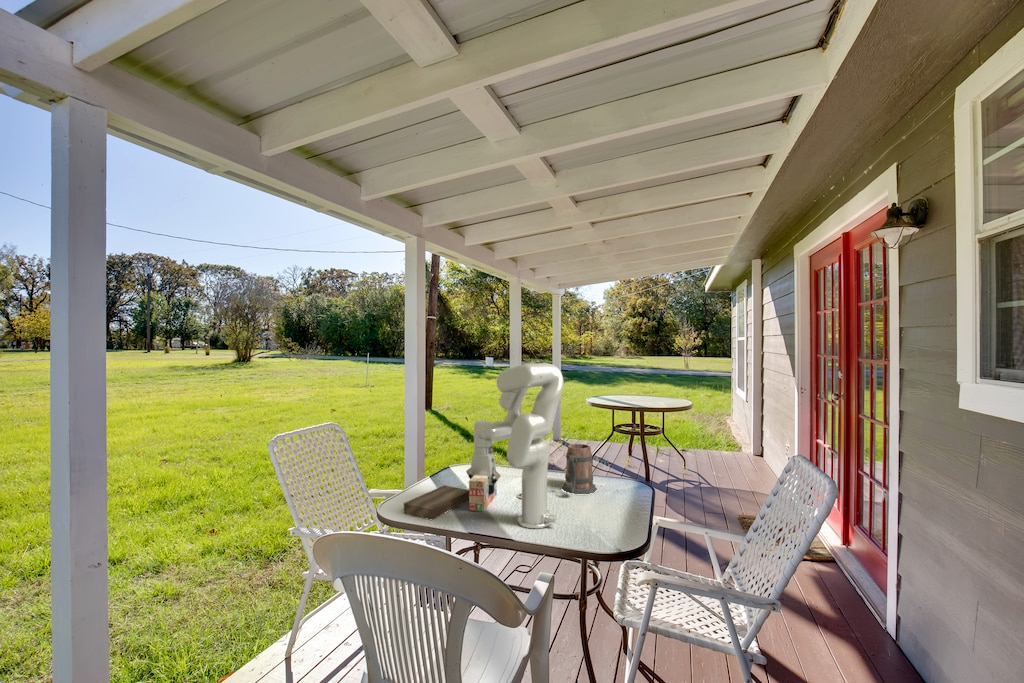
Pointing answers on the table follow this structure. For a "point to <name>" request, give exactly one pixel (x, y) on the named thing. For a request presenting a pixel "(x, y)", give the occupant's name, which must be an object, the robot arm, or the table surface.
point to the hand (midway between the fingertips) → (483, 492)
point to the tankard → (579, 470)
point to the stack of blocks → (480, 493)
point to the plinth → (436, 502)
